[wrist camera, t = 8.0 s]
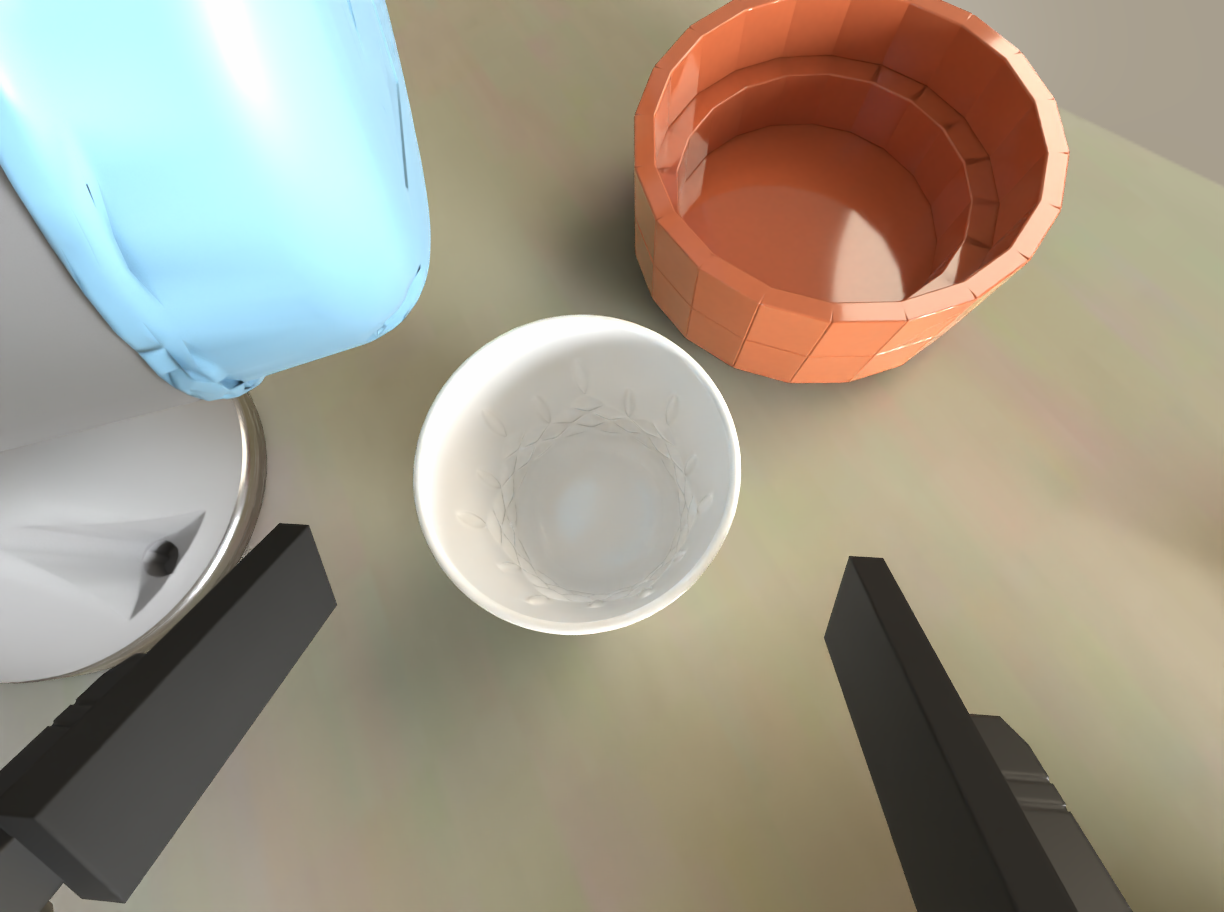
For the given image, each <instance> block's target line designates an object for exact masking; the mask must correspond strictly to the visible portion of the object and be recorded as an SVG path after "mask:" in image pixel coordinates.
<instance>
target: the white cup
mask: <svg viewBox="0 0 1224 912" xmlns="http://www.w3.org/2000/svg"><path fill="white" fill-rule="evenodd" d="M740 481H741V459H740V449H739V443H738V438H737V434H736V430H735V426H734V423H733V420H732V417H731V414H730V412H729V409H728V407H727V405H726V403H725V401H724V399H723V397H722V395H721V393H720V392H719V390H718V388H717V387H716V385H715V384H714V382H713V381H712V380H711V378H710V377H709V376H708V374H707V373H706V372H705V371H704V369H703V368H702V367H701V366H700V365H699V364H698V363H697V362H696V361H695V360H694V359H693V358H692V357H691V356H690V355H689V354H688V353H686V352H685V351H684V350H683V349H681V348H680V347H679V346H678V345H676V344H675V343H673V342H672V341H670V340H669V339H667V338H665V337H664V336H662V335H660V334H658V333H656V332H654V331H652V330H650V329H648V328H646V327H643V326H641V325H638V324H635V323H632V322H629V321H626V320H622V319H617V318H613V317H607V316H599V315H565V316H557V317H551V318H546V319H541V320H537V321H534V322H531V323H528V324H525V325H522V326H519V327H517V328H515V329H512V330H510V331H508V332H506V333H504V334H502V335H500V336H498V337H497V338H495V339H493V340H492V341H490V342H488V343H487V344H485V345H484V346H483V347H481V348H480V349H479V350H477V351H476V352H475V353H474V354H472V355H471V356H470V357H469V358H468V359H467V360H466V361H464V362H463V363H462V364H461V365H460V366H459V367H458V369H457V370H456V371H455V372H454V373H453V374H452V375H451V377H450V378H449V379H448V380H447V382H446V383H445V384H444V386H443V387H442V388H441V390H440V391H439V393H438V395H437V396H436V398H435V400H434V401H433V403H432V405H431V407H430V409H429V411H428V413H427V415H426V418H425V420H424V423H423V426H422V428H421V431H420V435H419V438H418V442H417V447H416V452H415V458H414V468H413V490H414V500H415V506H416V512H417V516H418V520H419V523H420V527H421V530H422V532H423V535H424V538H425V540H426V542H427V545H428V547H429V549H430V551H431V552H432V554H433V556H434V558H435V559H436V561H437V563H438V564H439V566H440V567H441V569H442V570H443V571H444V573H445V574H446V575H447V576H448V578H449V579H450V580H451V581H452V582H453V583H454V584H455V586H456V587H457V588H458V589H459V590H460V591H461V592H463V593H464V594H465V595H466V596H467V597H468V598H469V599H471V600H472V601H473V602H475V603H476V604H477V605H479V606H480V607H482V608H483V609H485V610H486V611H488V612H490V613H491V614H493V615H495V616H497V617H499V618H501V619H503V620H505V621H507V622H510V623H512V624H515V625H517V626H520V627H523V628H527V629H530V630H534V631H539V632H544V633H551V634H561V635H584V634H594V633H601V632H606V631H611V630H615V629H618V628H622V627H625V626H628V625H631V624H633V623H636V622H638V621H641V620H643V619H645V618H647V617H649V616H651V615H653V614H655V613H656V612H658V611H660V610H662V609H663V608H665V607H666V606H668V605H669V604H671V603H672V602H673V601H675V600H676V599H677V598H679V597H680V596H681V595H682V594H683V593H685V592H686V591H687V590H688V589H689V588H690V587H691V586H692V585H693V584H694V583H695V582H696V581H697V580H698V579H699V578H700V577H701V575H702V574H703V573H704V572H705V571H706V569H707V568H708V567H709V565H710V564H711V563H712V561H713V560H714V558H715V557H716V555H717V553H718V552H719V550H720V548H721V546H722V544H723V542H724V541H725V538H726V536H727V534H728V532H729V529H730V527H731V524H732V521H733V518H734V515H735V511H736V507H737V503H738V497H739V491H740Z"/></svg>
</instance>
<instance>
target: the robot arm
mask: <svg viewBox="0 0 1224 912" xmlns="http://www.w3.org/2000/svg"><path fill="white" fill-rule="evenodd" d="M429 261H430V219H429V208H428V201H427V193H426V186H425V180H424V174H423V168H422V162H421V157H420V153H419V148H418V143H417V138H416V133H415V129H414V124H413V119H412V114H411V109H410V104H409V100H408V95H407V90H406V85H405V81H404V77H403V72H402V68H401V64H400V60H399V55H398V51H397V47H396V43H395V38H394V34H393V30H392V26H391V22H390V18H389V14H388V10H387V6H386V2H385V0H0V683H29V682H39V681H46V680H52V679H59V678H66V677H73V676H79V675H85V674H90V673H94V672H98V671H101V670H105V669H109V668H111V667H113V668H112V669H110V670H109V671H107V672H106V673H104V674H103V675H102V676H101V677H100V678H98V679H97V680H96V681H95V682H94V683H93V684H92V685H91V686H90V687H89V688H88V689H87V690H86V691H85V692H84V693H82V694H81V695H80V696H79V697H78V698H77V699H76V703H75V704H74V705H70V706H69V707H68V708H67V709H65V710H64V711H63V712H62V713H61V714H60V715H59V716H58V717H57V718H56V719H55V720H54V723H53V725H52V726H47V727H46V728H45V729H44V730H43V731H42V732H41V733H40V734H39V735H38V736H37V737H36V738H35V739H34V740H32V741H31V742H30V743H29V744H28V745H27V746H26V747H25V748H24V749H23V750H22V751H21V752H20V753H19V754H18V755H17V756H15V757H14V758H13V759H12V760H11V761H10V762H9V763H8V764H7V765H6V766H5V767H4V768H3V769H2V770H1V771H0V912H53V904H52V903H51V902H50V901H49V900H50V899H51V897H52V896H53V895H54V894H55V892H56V891H57V890H58V889H59V888H60V886H61V885H62V884H63V883H64V884H66V885H67V886H68V887H69V888H70V889H71V890H72V891H74V892H75V893H76V894H77V895H78V896H79V897H80V898H82V899H89V900H98V901H107V902H117V903H126V901H127V900H128V898H129V897H130V896H131V894H132V893H133V891H134V890H135V889H136V887H137V886H138V884H139V883H140V882H141V880H142V879H143V877H144V876H145V875H146V873H147V872H148V870H149V869H150V867H151V866H152V865H153V863H154V862H155V860H156V859H157V858H158V856H159V855H160V853H161V852H162V851H163V849H164V848H165V846H166V845H167V844H168V842H169V841H170V839H171V838H172V836H173V835H174V834H175V832H176V831H177V829H178V828H179V827H180V825H181V824H182V822H183V821H184V820H185V818H186V817H187V815H188V814H189V813H190V811H191V810H192V808H193V807H194V806H195V804H196V803H197V801H198V800H199V798H200V797H201V796H202V794H203V793H204V791H205V790H206V789H207V787H208V786H209V784H210V783H211V782H212V780H213V779H214V777H215V776H216V775H217V773H218V772H219V770H220V769H221V768H222V766H223V765H224V763H225V762H226V760H227V759H228V758H229V756H230V755H231V753H232V752H233V751H234V749H235V748H236V746H237V745H238V744H239V742H240V741H241V739H242V738H243V737H244V735H245V734H246V732H247V731H248V729H249V728H250V727H251V725H252V724H253V722H254V721H255V720H256V718H257V717H258V715H259V714H260V713H261V711H262V710H263V708H264V707H265V706H266V704H267V703H268V701H269V700H270V699H271V697H272V696H273V694H274V693H275V691H276V690H277V689H278V687H279V686H280V684H281V683H282V682H283V680H284V679H285V677H286V676H287V675H288V673H289V672H290V670H291V669H292V668H293V666H294V665H295V663H296V662H297V661H298V659H299V658H300V656H301V655H302V653H303V652H304V651H305V649H306V648H307V646H308V645H309V644H310V642H311V641H312V639H313V638H314V637H315V635H316V634H317V632H318V631H319V630H320V628H321V627H322V625H323V624H324V622H325V621H326V620H327V618H328V617H329V615H330V614H331V613H332V611H333V610H334V608H335V607H336V606H337V603H336V600H335V598H334V595H333V592H332V589H331V586H330V584H329V581H328V578H327V575H326V572H325V569H324V567H323V564H322V561H321V558H320V555H319V552H318V550H317V547H316V544H315V541H314V538H313V536H312V533H311V530H310V527H309V525H300V524H282V523H279V524H278V525H277V526H276V527H275V528H274V529H273V530H272V531H271V532H270V533H269V534H268V535H267V536H266V537H265V538H264V539H263V540H262V541H261V542H260V543H259V544H258V545H257V546H256V547H255V548H254V549H253V550H252V551H251V552H250V553H248V554H247V555H246V556H245V557H244V558H243V559H242V560H241V561H240V562H239V563H238V561H239V560H240V558H241V556H242V554H243V552H244V550H245V548H246V546H247V544H248V542H249V540H250V538H251V535H252V533H253V530H254V528H255V525H256V522H257V519H258V516H259V512H260V509H261V506H262V501H263V496H264V491H265V483H266V474H267V454H266V443H265V437H264V432H263V427H262V424H261V421H260V418H259V415H258V412H257V410H256V408H255V405H254V403H253V401H252V399H251V397H250V396H249V394H248V391H250V390H251V389H253V388H254V387H256V386H258V385H259V384H261V382H262V380H263V379H264V377H265V376H267V375H270V374H273V373H276V372H280V371H283V370H286V369H289V368H292V367H295V366H298V365H301V364H304V363H308V362H311V361H314V360H317V359H320V358H323V357H326V356H329V355H332V354H336V353H339V352H342V351H345V350H348V349H351V348H354V347H357V346H360V345H364V344H367V343H370V342H371V341H373V340H375V339H377V338H379V337H381V336H382V335H384V334H386V333H387V332H389V331H391V330H392V329H394V328H395V327H396V326H397V325H398V324H400V323H401V322H402V321H403V320H404V318H405V317H406V316H407V315H408V314H409V313H410V311H411V310H412V308H413V307H414V305H415V304H416V302H417V301H418V299H419V296H420V294H421V292H422V289H423V287H424V284H425V282H426V277H427V273H428V268H429ZM237 563H238V564H237ZM824 639H825V642H826V645H827V648H828V651H829V654H830V657H831V660H832V662H833V665H834V668H835V671H836V674H837V677H838V680H839V683H840V686H841V689H842V692H843V695H844V698H845V701H846V704H847V707H848V709H849V712H850V715H851V718H852V721H853V724H854V727H855V730H856V733H857V736H858V739H859V742H860V745H861V748H862V751H863V754H864V756H865V759H866V762H867V765H868V768H869V771H870V774H871V777H872V780H873V783H874V786H875V789H876V792H877V795H878V798H879V801H880V804H881V806H882V809H883V812H884V815H885V818H886V821H887V824H888V827H889V830H890V833H891V836H892V839H893V842H894V845H895V848H896V851H897V853H898V856H899V859H900V862H901V865H902V868H903V871H904V874H905V877H906V880H907V883H908V886H909V889H910V892H911V895H912V898H913V900H914V903H915V906H916V909H917V912H1133V911H1132V910H1131V908H1130V906H1129V905H1128V903H1127V902H1126V900H1125V898H1124V897H1123V895H1122V894H1121V892H1120V890H1119V889H1118V887H1117V886H1116V884H1115V882H1114V881H1113V879H1112V878H1111V876H1110V874H1109V873H1108V871H1107V870H1106V868H1105V866H1104V865H1103V863H1102V862H1101V860H1100V858H1099V857H1098V855H1097V854H1096V852H1095V850H1094V849H1093V847H1092V846H1091V844H1090V842H1089V841H1088V839H1087V838H1086V836H1085V834H1084V833H1083V831H1082V830H1081V828H1080V826H1079V825H1078V823H1077V822H1076V820H1075V818H1074V817H1073V815H1072V813H1071V812H1068V811H1067V809H1066V804H1065V802H1064V801H1063V799H1062V797H1061V796H1060V794H1059V793H1058V791H1057V789H1056V788H1055V786H1054V785H1053V784H1051V783H1050V782H1049V777H1048V775H1047V773H1046V772H1045V770H1044V769H1043V767H1042V765H1041V764H1040V762H1039V761H1038V759H1037V757H1036V756H1035V754H1034V753H1033V751H1032V749H1031V748H1030V746H1029V745H1028V744H1027V743H1026V742H1025V741H1024V740H1023V739H1022V738H1021V737H1020V736H1019V735H1018V734H1017V733H1016V732H1015V731H1014V730H1013V729H1012V728H1011V727H1010V726H1009V725H1008V724H1007V723H1006V722H1005V721H1004V720H1003V719H1002V718H1001V717H1000V716H990V715H977V714H969V713H968V711H967V709H966V707H965V706H964V704H963V702H962V700H961V698H960V697H959V695H958V693H957V691H956V689H955V687H954V686H953V684H952V682H951V680H950V678H949V677H948V675H947V673H946V671H945V669H944V668H943V666H942V664H941V662H940V660H939V658H938V657H937V655H936V653H935V651H934V649H933V648H932V646H931V644H930V642H929V640H928V639H927V637H926V635H925V633H924V631H923V630H922V628H921V626H920V624H919V622H918V620H917V619H916V617H915V615H914V613H913V611H912V610H911V608H910V606H909V604H908V602H907V601H906V599H905V597H904V595H903V593H902V591H901V590H900V588H899V586H898V584H897V582H896V581H895V579H894V577H893V575H892V573H891V572H890V570H889V568H888V566H887V564H886V562H885V561H884V559H883V558H873V557H856V556H849V559H848V562H847V565H846V568H845V572H844V575H843V578H842V581H841V584H840V588H839V591H838V594H837V597H836V601H835V604H834V607H833V610H832V613H831V617H830V620H829V623H828V626H827V630H826V633H825V636H824ZM147 651H148V652H147ZM145 652H147V653H146V654H143V653H145ZM114 666H115V667H114Z"/></svg>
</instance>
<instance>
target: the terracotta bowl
mask: <svg viewBox="0 0 1224 912" xmlns="http://www.w3.org/2000/svg"><path fill="white" fill-rule="evenodd" d="M1069 153H1070V151H1069V148H1068V144H1067V140H1066V136H1065V133H1064V129H1063V125H1062V121H1061V118H1060V114H1059V110H1058V106H1057V103H1056V100H1055V99H1054V97H1053V95H1052V94H1051V92H1050V91H1049V90H1048V88H1047V87H1046V85H1045V84H1044V83H1043V81H1042V80H1041V78H1040V77H1039V75H1038V74H1037V73H1036V71H1035V70H1034V68H1033V67H1032V65H1031V64H1030V63H1029V61H1028V60H1027V58H1026V57H1025V56H1024V54H1023V53H1022V52H1020V50H1019V49H1018V48H1017V47H1015V46H1014V45H1013V44H1011V43H1010V42H1009V41H1007V40H1006V39H1005V38H1004V37H1002V36H1001V35H1000V34H999V33H997V32H996V31H995V30H993V29H992V28H991V27H990V26H988V25H987V24H986V23H984V22H983V21H982V20H980V19H979V18H978V17H977V16H975V15H972V13H970V12H968V11H965V10H963V9H961V8H958V7H956V6H954V5H951V4H949V3H947V2H944V1H942V0H732V1H731V2H729V3H727V4H726V5H724V6H722V7H721V8H719V9H717V10H716V11H714V12H712V13H711V14H709V15H707V16H706V17H704V18H702V19H701V20H699V21H697V22H696V23H694V24H693V25H691V26H690V27H689V28H688V29H687V30H686V31H685V32H684V33H683V34H682V35H681V37H680V38H679V39H678V40H677V41H676V42H675V43H674V44H673V46H672V47H671V48H670V49H669V50H668V51H667V52H666V53H665V55H664V56H663V57H662V58H661V59H660V60H659V61H658V63H657V64H656V65H655V67H654V68H653V69H652V72H651V74H650V77H649V79H648V82H647V85H646V87H645V90H644V92H643V95H642V97H641V100H640V102H639V105H638V107H637V110H636V112H635V116H634V187H635V254H636V257H637V260H638V263H639V265H640V268H641V270H642V273H643V276H644V278H645V281H646V283H647V286H648V289H649V291H650V294H651V296H652V298H653V300H654V301H655V302H656V304H657V305H658V306H659V307H660V308H661V309H662V311H663V312H664V313H665V314H666V315H667V317H668V318H669V319H670V320H671V321H672V322H673V324H674V325H675V326H676V327H677V328H678V329H679V331H680V332H681V333H682V334H683V335H684V337H686V338H687V339H688V340H690V341H691V342H693V343H694V344H696V345H698V346H699V347H701V348H702V349H704V350H706V351H707V352H709V353H710V354H712V355H714V356H715V357H717V358H718V359H720V360H722V361H723V362H725V363H726V364H728V365H730V366H731V367H734V368H736V369H740V370H743V371H747V372H751V373H754V374H758V375H761V376H765V377H769V378H772V379H776V380H779V381H783V382H787V383H842V382H851V381H854V380H857V379H861V378H864V377H867V376H870V375H873V374H876V373H879V372H882V371H886V370H889V369H892V368H895V367H898V366H901V365H903V364H904V363H906V362H907V361H908V360H910V359H911V358H912V357H914V356H915V355H916V354H918V353H919V352H921V351H922V350H923V349H925V348H926V347H927V346H929V345H930V344H931V343H933V342H934V341H935V340H937V339H938V338H939V337H941V336H942V335H944V334H945V333H946V332H947V331H948V330H949V329H951V328H952V327H953V326H954V325H955V324H956V323H958V322H959V321H960V320H961V319H962V318H964V317H965V316H966V315H967V314H968V313H969V312H971V311H972V310H973V309H974V308H975V307H976V306H978V305H979V304H980V303H981V302H982V301H983V300H985V299H986V298H987V297H988V296H989V295H990V294H992V293H993V292H994V291H995V290H996V289H998V288H999V287H1000V286H1001V285H1002V284H1003V283H1005V282H1006V281H1007V280H1008V279H1009V278H1010V277H1012V276H1013V275H1014V274H1015V273H1016V272H1017V271H1019V270H1020V269H1021V268H1022V267H1023V266H1025V265H1026V264H1027V262H1029V261H1030V260H1031V258H1032V256H1033V255H1034V253H1035V252H1036V250H1037V248H1038V247H1039V245H1040V244H1041V242H1042V240H1043V239H1044V237H1045V236H1046V234H1047V232H1048V231H1049V229H1050V228H1051V226H1052V224H1053V223H1054V221H1055V220H1056V218H1057V216H1058V215H1059V213H1060V211H1061V208H1062V201H1063V194H1064V187H1065V181H1066V174H1067V167H1068V160H1069V155H1068V154H1069Z"/></svg>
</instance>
